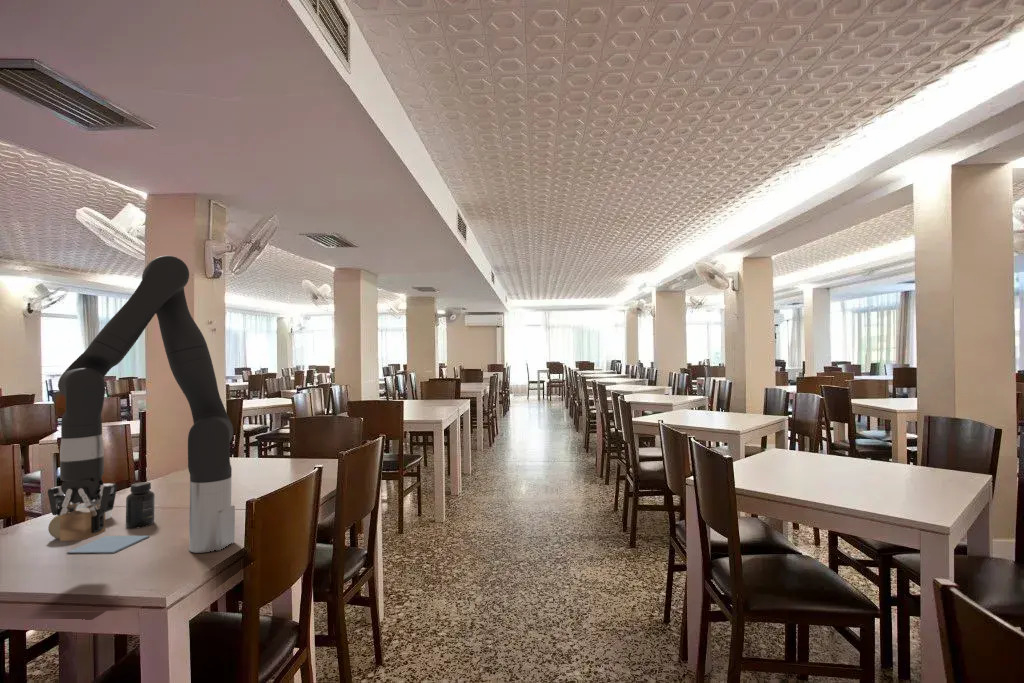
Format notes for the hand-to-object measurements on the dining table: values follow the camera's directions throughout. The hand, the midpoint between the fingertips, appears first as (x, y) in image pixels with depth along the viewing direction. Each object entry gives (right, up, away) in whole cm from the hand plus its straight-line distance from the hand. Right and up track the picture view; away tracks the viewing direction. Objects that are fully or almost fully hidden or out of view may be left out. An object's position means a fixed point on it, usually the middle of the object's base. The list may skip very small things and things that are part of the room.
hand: (83, 532), depth 114 cm
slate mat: (-9, -10, +19) cm, 24 cm away
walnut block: (0, -1, 0) cm, 1 cm away
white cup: (-32, -12, +43) cm, 54 cm away
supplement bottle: (-14, -12, +36) cm, 40 cm away
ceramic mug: (-26, -11, +28) cm, 39 cm away
